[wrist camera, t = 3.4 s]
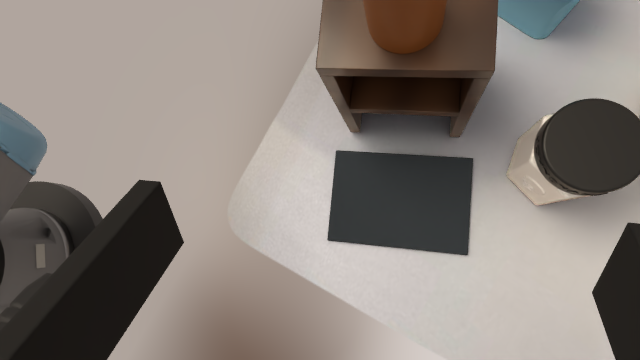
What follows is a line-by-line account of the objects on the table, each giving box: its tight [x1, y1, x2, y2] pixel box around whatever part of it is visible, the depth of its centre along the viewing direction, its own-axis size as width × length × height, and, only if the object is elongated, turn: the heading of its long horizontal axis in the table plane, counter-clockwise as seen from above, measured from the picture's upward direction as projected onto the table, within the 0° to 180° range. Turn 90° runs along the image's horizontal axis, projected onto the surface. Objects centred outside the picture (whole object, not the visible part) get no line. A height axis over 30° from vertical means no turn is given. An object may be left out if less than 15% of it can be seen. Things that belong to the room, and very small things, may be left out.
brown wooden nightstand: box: [316, 0, 498, 137], centre depth 41 cm, size 13×10×20 cm
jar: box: [506, 99, 640, 206], centre depth 40 cm, size 9×8×12 cm
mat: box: [328, 151, 473, 255], centre depth 49 cm, size 16×11×1 cm
